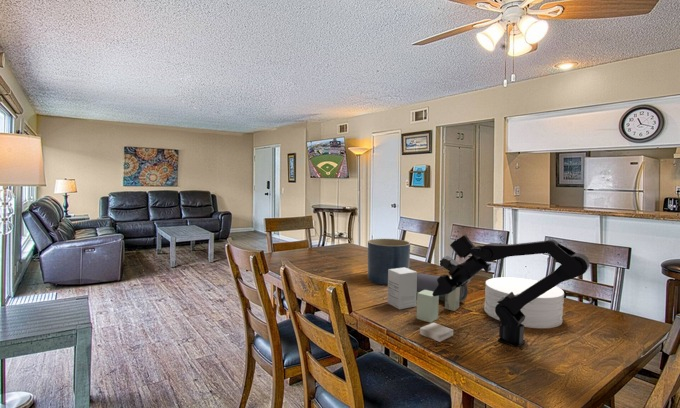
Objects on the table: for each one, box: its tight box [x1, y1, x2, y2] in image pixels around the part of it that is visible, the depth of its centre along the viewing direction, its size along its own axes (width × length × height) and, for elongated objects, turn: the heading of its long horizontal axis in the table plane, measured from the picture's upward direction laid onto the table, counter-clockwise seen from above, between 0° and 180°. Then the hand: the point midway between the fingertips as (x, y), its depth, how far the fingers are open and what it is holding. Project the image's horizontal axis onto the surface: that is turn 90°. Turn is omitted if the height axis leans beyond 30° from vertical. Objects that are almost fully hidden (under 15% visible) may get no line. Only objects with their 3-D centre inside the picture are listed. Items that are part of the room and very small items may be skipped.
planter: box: [367, 238, 411, 286], centre depth 195 cm, size 22×22×20 cm
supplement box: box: [387, 267, 418, 310], centre depth 156 cm, size 9×9×15 cm
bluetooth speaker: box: [417, 272, 469, 303], centre depth 166 cm, size 23×9×10 cm, turn 50°
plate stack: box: [483, 276, 565, 329], centre depth 148 cm, size 28×28×12 cm
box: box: [444, 276, 460, 312], centre depth 153 cm, size 5×4×13 cm
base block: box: [419, 322, 454, 343], centre depth 127 cm, size 8×8×2 cm
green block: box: [416, 290, 440, 324], centre depth 142 cm, size 6×6×10 cm
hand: (438, 292), depth 139 cm, fingers open, 9 cm apart
